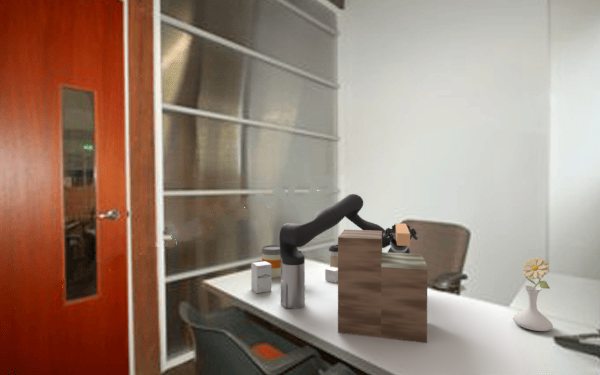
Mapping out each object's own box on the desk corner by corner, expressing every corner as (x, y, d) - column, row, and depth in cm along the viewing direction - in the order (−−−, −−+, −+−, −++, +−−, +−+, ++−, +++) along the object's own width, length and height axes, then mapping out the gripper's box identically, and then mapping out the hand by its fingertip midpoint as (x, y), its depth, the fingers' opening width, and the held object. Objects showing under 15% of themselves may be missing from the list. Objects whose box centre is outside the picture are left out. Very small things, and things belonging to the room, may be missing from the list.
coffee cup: (340, 276, 179) (340, 247, 178) (325, 273, 183) (325, 246, 183) (347, 272, 186) (347, 245, 186) (333, 269, 191) (333, 243, 191)
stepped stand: (344, 312, 130) (344, 229, 129) (421, 319, 123) (421, 232, 122) (337, 332, 112) (337, 237, 111) (426, 342, 105) (427, 241, 104)
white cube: (325, 280, 170) (325, 269, 170) (331, 278, 175) (331, 266, 175) (335, 283, 167) (335, 271, 166) (341, 280, 171) (341, 268, 171)
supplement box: (256, 294, 151) (256, 265, 150) (251, 289, 157) (251, 262, 157) (271, 291, 154) (271, 264, 154) (265, 286, 161) (265, 260, 160)
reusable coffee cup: (276, 270, 189) (275, 244, 189) (289, 275, 180) (289, 247, 179) (257, 274, 181) (256, 247, 181) (270, 280, 172) (270, 250, 171)
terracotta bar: (395, 233, 133) (395, 223, 133) (405, 233, 132) (405, 223, 132) (397, 245, 110) (397, 233, 110) (410, 245, 109) (410, 233, 109)
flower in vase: (505, 320, 122) (506, 251, 122) (537, 320, 122) (538, 251, 121) (529, 336, 109) (530, 260, 109) (565, 337, 109) (566, 260, 108)
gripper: (382, 233, 145) (381, 217, 131) (416, 234, 142) (420, 218, 127) (382, 249, 142) (381, 235, 127) (417, 251, 138) (421, 237, 124)
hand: (401, 227), depth 127 cm, fingers closed on terracotta bar, 4 cm apart
